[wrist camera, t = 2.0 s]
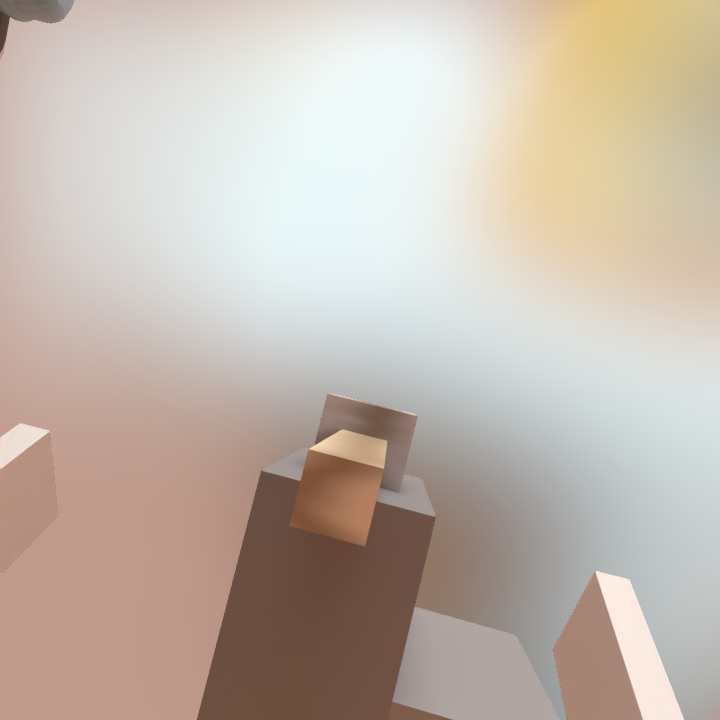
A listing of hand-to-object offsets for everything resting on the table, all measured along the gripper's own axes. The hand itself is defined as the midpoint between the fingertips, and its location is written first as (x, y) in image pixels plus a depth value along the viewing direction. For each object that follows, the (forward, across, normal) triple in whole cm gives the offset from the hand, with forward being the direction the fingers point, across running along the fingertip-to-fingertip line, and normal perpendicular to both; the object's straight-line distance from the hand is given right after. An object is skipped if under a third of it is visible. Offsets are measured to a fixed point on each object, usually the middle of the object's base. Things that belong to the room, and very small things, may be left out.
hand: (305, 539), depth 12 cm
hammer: (+14, 0, -10) cm, 17 cm away
